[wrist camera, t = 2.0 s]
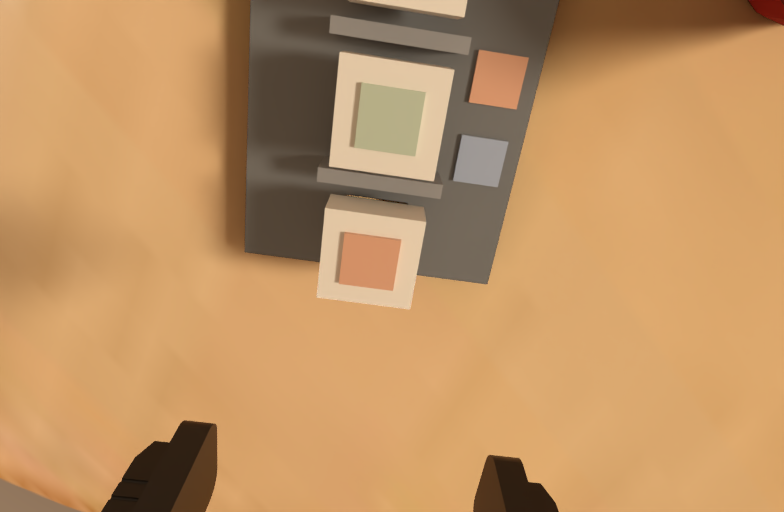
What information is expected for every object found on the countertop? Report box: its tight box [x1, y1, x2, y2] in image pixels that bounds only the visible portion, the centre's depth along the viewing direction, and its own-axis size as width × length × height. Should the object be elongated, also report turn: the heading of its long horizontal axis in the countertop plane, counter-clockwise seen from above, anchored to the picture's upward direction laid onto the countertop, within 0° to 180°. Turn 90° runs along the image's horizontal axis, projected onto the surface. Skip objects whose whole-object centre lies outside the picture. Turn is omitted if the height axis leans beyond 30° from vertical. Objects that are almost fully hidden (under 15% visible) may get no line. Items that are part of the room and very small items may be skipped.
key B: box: [329, 51, 455, 181], centre depth 22 cm, size 5×5×4 cm
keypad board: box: [245, 0, 559, 284], centre depth 24 cm, size 18×14×4 cm
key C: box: [317, 194, 426, 309], centre depth 24 cm, size 5×5×4 cm
